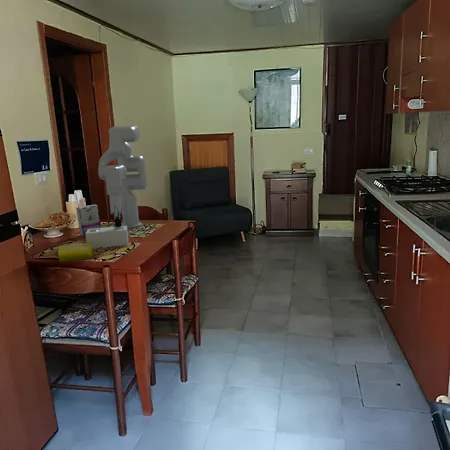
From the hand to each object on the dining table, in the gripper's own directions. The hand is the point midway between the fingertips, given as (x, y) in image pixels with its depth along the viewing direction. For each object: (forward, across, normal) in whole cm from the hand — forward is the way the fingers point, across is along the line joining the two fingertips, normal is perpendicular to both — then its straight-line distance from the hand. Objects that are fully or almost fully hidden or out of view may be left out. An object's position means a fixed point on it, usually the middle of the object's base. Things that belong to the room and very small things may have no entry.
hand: (118, 226), depth 213 cm
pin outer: (+7, 0, -12) cm, 14 cm away
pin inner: (+6, 0, 0) cm, 6 cm away
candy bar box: (+9, -28, -18) cm, 35 cm away
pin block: (+9, 0, -6) cm, 11 cm away
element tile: (+10, +15, -20) cm, 27 cm away
